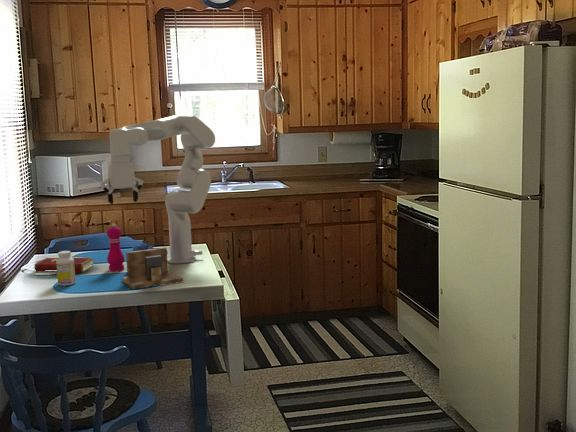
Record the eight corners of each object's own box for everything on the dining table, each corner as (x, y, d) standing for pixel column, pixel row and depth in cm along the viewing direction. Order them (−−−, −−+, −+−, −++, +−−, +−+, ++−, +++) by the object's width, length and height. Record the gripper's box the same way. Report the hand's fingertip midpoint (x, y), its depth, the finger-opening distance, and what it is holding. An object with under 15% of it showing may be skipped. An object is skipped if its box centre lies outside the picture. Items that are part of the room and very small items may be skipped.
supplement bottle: (67, 281, 276) (65, 249, 273) (79, 282, 272) (77, 251, 270) (54, 285, 270) (51, 252, 268) (66, 286, 266) (63, 254, 264)
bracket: (160, 277, 272) (159, 255, 271) (162, 278, 270) (161, 256, 268) (145, 279, 269) (144, 256, 268) (147, 280, 267) (146, 258, 266)
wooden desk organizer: (170, 274, 283) (169, 246, 281) (183, 281, 270) (181, 253, 268) (122, 280, 274) (120, 252, 272) (133, 289, 261) (131, 259, 259)
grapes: (157, 268, 294) (156, 240, 292) (155, 271, 287) (154, 243, 285) (130, 269, 293) (128, 241, 291) (127, 273, 287) (125, 244, 285)
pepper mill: (120, 271, 289) (117, 224, 286) (104, 271, 290) (101, 224, 287) (128, 267, 296) (125, 221, 293) (112, 267, 297) (109, 221, 294)
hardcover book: (82, 273, 290) (82, 263, 289) (35, 273, 292) (34, 263, 291) (93, 266, 302) (92, 257, 301) (47, 266, 304) (46, 257, 303)
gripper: (139, 158, 281) (141, 199, 284) (96, 160, 273) (99, 203, 276) (144, 159, 274) (147, 201, 277) (101, 161, 266) (104, 205, 269)
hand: (123, 202), depth 276 cm, fingers open, 9 cm apart
